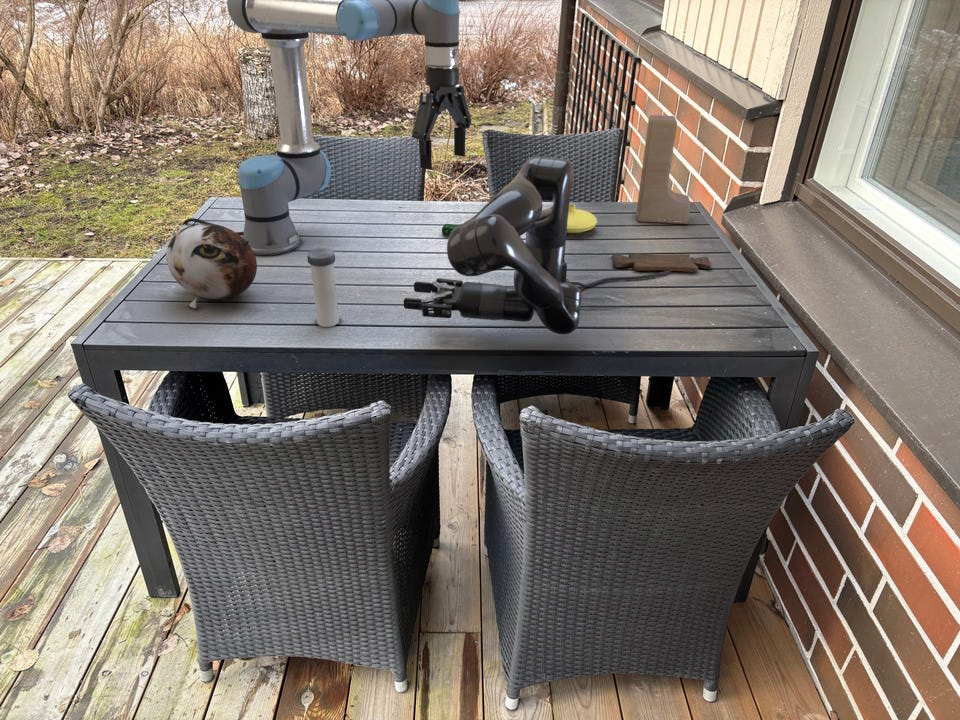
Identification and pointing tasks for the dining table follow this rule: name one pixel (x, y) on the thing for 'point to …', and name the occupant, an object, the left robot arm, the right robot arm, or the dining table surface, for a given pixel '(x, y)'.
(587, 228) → the yellow rounded piece
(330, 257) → the lid
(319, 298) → the jar
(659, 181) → the decorative block
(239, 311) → the dining table surface
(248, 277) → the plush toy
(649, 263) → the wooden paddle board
